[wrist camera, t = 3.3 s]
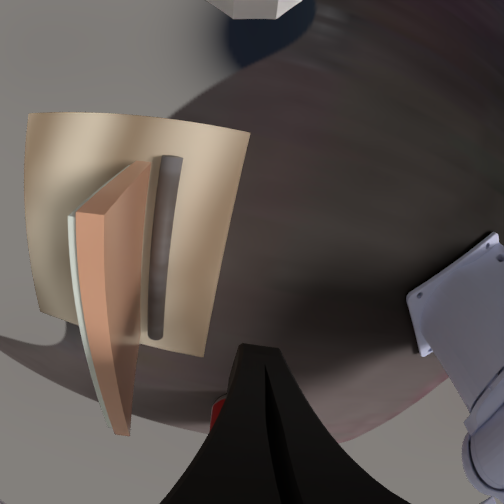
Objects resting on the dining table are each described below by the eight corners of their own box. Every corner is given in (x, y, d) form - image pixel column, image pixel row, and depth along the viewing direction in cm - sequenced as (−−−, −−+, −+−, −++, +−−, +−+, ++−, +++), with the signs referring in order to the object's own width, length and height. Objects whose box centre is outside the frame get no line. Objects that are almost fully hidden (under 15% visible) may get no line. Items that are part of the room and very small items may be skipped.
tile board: (250, 132, 13) (250, 133, 11) (204, 347, 19) (201, 368, 17) (38, 113, 11) (18, 114, 9) (46, 304, 17) (34, 319, 15)
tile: (104, 215, 5) (64, 211, 5) (129, 436, 9) (108, 433, 9) (151, 162, 11) (130, 159, 11) (140, 333, 15) (125, 331, 15)
